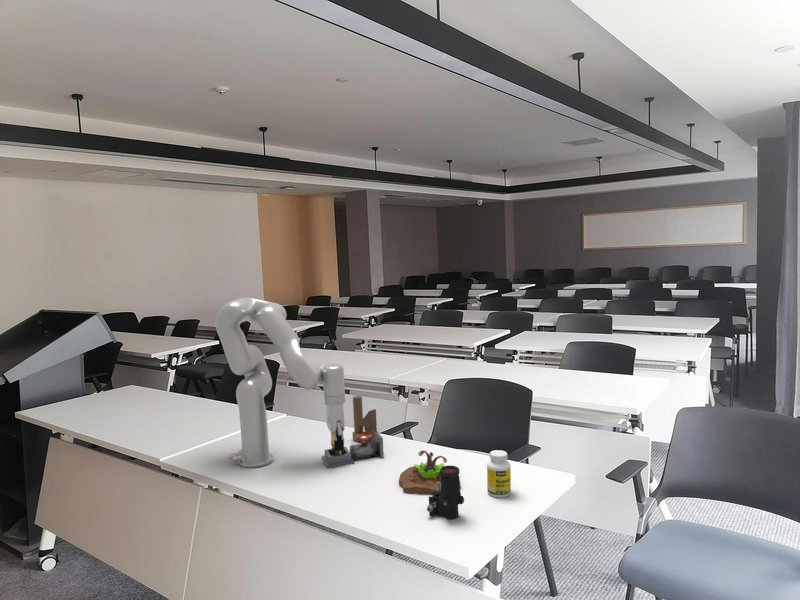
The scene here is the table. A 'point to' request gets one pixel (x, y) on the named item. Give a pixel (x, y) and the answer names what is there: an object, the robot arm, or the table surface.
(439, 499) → the scope
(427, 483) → the plant
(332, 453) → the cylinder
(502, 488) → the supplement bottle
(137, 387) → the table surface
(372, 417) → the wooden block
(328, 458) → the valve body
